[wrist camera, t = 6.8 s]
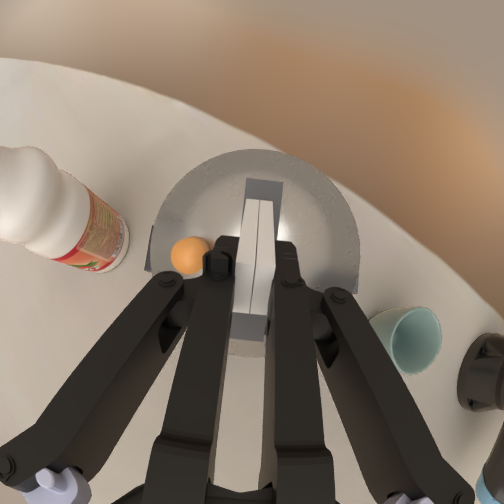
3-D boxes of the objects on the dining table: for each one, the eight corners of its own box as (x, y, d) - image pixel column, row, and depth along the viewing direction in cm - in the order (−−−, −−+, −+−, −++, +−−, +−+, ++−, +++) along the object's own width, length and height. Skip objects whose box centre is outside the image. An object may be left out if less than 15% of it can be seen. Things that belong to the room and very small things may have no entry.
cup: (346, 324, 35) (380, 328, 25) (390, 299, 36) (431, 294, 26) (365, 371, 34) (401, 388, 24) (407, 344, 35) (448, 351, 25)
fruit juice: (143, 243, 37) (0, 131, 9) (98, 287, 35) (-69, 243, 8) (110, 199, 38) (-7, 82, 10) (70, 241, 36) (-68, 166, 9)
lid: (335, 355, 22) (345, 374, 19) (153, 336, 22) (140, 352, 19) (364, 169, 20) (381, 163, 17) (166, 146, 20) (152, 136, 17)
